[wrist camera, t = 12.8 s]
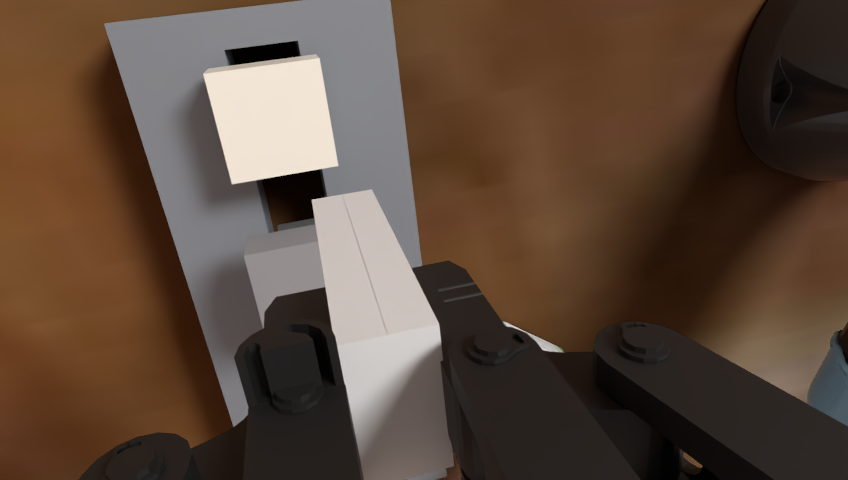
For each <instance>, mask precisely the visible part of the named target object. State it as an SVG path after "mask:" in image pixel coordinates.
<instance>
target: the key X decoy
mask: <svg viewBox="0 0 848 480" xmlns="http://www.w3.org/2000/svg"><path fill="white" fill-rule="evenodd" d="M244 259H245V262H246V266H247V270H248V274H249V277H250V281H251V285H252V289H253V292H254V296H255V300H256V304H257V307H258V311H259V315H260V319H261V322H262V326H263V328H264V313H265V311H266V309H267V308H268V307H269V305H270V304H271V303H272V301H273V300H274V299H275V297H277V296H283V295H288V294H293V293H298V292H303V291H308V290H313V289H318V288H323V287H325V281H324V275H323V269H322V263H321V256H320V250H319V244H318V237H317V231H316V225H315V218H312V219H307V220H302V221H296V222H291V223H286V224H280V225H278V231H277V232H272V233H267V234H261V235H256V236H251V237H246V238H245V249H244Z"/></svg>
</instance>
